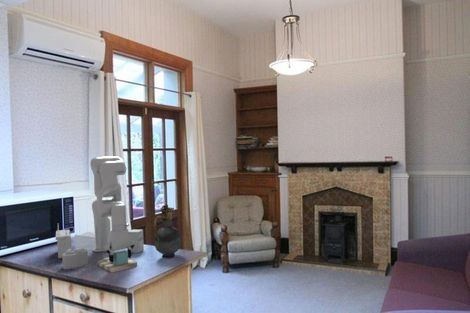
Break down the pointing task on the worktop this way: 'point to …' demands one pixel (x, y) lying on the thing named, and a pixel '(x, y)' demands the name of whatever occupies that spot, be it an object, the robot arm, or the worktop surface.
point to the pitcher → (167, 235)
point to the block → (120, 257)
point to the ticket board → (112, 267)
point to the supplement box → (137, 240)
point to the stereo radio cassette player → (63, 241)
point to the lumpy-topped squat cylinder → (75, 258)
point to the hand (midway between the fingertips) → (120, 259)
